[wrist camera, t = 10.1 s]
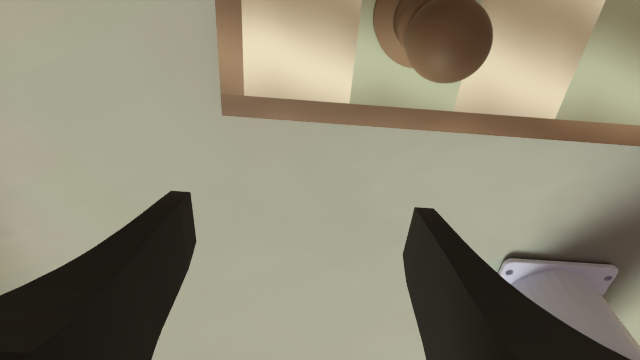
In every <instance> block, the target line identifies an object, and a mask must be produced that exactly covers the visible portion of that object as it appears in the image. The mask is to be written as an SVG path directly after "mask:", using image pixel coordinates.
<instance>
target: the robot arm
mask: <svg viewBox="0 0 640 360" xmlns="http://www.w3.org/2000/svg"><path fill="white" fill-rule="evenodd" d="M195 244H196V235H195V227H194V218H193V210H192V202H191V194H190V192H180V191H170V192H169V193H168V194H166V195H165V196H164V197H162V198H161V199H160V200H158V201H157V202H156V203H155V204H153V205H152V206H151V207H150V208H148V209H147V210H146V211H144V212H143V213H142V214H140V215H139V216H138V217H137V218H135V219H134V220H133V221H131V222H130V223H129V224H127V225H126V226H125V227H123V228H122V229H120V230H119V231H117V232H116V233H114V234H113V235H112V236H110V237H109V238H107V239H106V240H104V241H103V242H101V243H100V244H98V245H97V246H95V247H94V248H92V249H91V250H89V251H87V252H86V253H84V254H82V255H81V256H79V257H77V258H76V259H74V260H72V261H70V262H69V263H67V264H65V265H63V266H61V267H59V268H58V269H56V270H54V271H52V272H50V273H48V274H46V275H43V276H41V277H39V278H37V279H35V280H33V281H31V282H29V283H27V284H25V285H23V286H21V287H19V288H16V289H14V290H12V291H10V292H7V293H5V294H3V295H0V360H151V359H152V356H153V353H154V350H155V347H156V344H157V341H158V338H159V336H160V333H161V331H162V328H163V326H164V324H165V321H166V319H167V317H168V315H169V312H170V310H171V308H172V306H173V303H174V301H175V299H176V297H177V294H178V292H179V290H180V287H181V285H182V283H183V280H184V278H185V276H186V273H187V271H188V269H189V265H190V262H191V259H192V255H193V252H194V248H195ZM403 260H404V269H405V276H406V283H407V287H408V290H409V294H410V298H411V302H412V306H413V309H414V313H415V317H416V320H417V324H418V328H419V332H420V335H421V339H422V343H423V347H424V351H425V356H426V360H640V346H639V345H638V343H637V342H636V341H635V339H634V338H633V337H632V335H631V334H630V333H629V331H628V330H627V329H626V327H625V326H624V325H623V323H622V322H621V321H620V319H619V318H618V317H617V315H616V314H615V313H614V311H613V310H612V309H611V307H610V306H609V305H608V303H607V302H606V301H605V299H604V298H603V295H604V294H605V292H606V291H607V289H608V288H609V286H610V285H611V283H612V282H613V280H614V279H615V277H616V276H617V274H618V272H619V271H618V269H617V268H616V266H614V265H609V264H593V263H578V262H562V261H546V260H531V259H515V258H510V259H507V260H505V261H504V262H503V264H502V266H501V269H500V271H499V273H497V272H496V271H495V270H493V269H492V268H491V267H490V266H489V265H488V264H487V263H486V262H485V261H484V260H482V259H481V258H480V257H479V256H478V255H477V254H476V253H475V252H474V251H473V250H472V249H471V248H470V247H469V246H468V245H467V244H466V243H465V242H464V241H463V240H462V239H461V237H460V236H459V235H458V234H457V233H456V232H455V231H454V230H453V229H452V228H451V227H450V226H449V225H448V223H447V222H446V221H445V220H444V219H443V218H442V217H441V216H440V215H439V214H438V213H437V212H436V211H435V210H434V209H432V208H417V207H415V208H414V212H413V216H412V220H411V224H410V228H409V232H408V236H407V240H406V244H405V248H404V252H403ZM508 270H509V271H508Z"/></svg>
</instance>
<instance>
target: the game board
mask: <svg viewBox="0 0 640 360" xmlns="http://www.w3.org/2000/svg"><path fill="white" fill-rule="evenodd" d="M475 1H476V2H477V3H479V4H480V5H481V6H482V7H483V8H484V9H485V11H486V12H487V14H488V16H489V18H490V20H491V23H492V28H493V42H492V47H491V50H490V53H489V55H488V57H487V59H486V60H485V62H484V63H483V64H482V66H481V67H480V68H479V69H478V70H477V71H476V72H474V73H473V74H472V75H470V76H469V77H467V78H465V79H463V80H461V81H458V82H454V83H435V82H432V81H429V80H427V79H425V78H423V77H422V76H420V75H419V74H418V73H417V72H416V71H415V70H414V69H413V68H408V67H405V66H402V65H400V64H397V63H396V62H394V61H393V60H392V59H390V58H389V57H388V56H387V55H386V54H385V52H384V51H383V49H382V48H381V46H380V44H379V42H378V40H377V37H376V35H375V32H374V27H373V10H374V5H375V2H376V0H215V6H216V23H217V39H218V55H219V71H220V87H221V104H222V115H224V116H237V117H251V118H264V119H278V120H292V121H305V122H319V123H332V124H346V125H359V126H373V127H387V128H400V129H414V130H427V131H441V132H455V133H468V134H482V135H495V136H509V137H522V138H536V139H550V140H563V141H577V142H590V143H604V144H617V145H631V146H640V0H475Z"/></svg>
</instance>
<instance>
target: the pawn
mask: <svg viewBox="0 0 640 360" xmlns="http://www.w3.org/2000/svg"><path fill="white" fill-rule="evenodd" d="M373 27H374V32H375V35H376V37H377V40H378V42H379V44H380V46H381V48H382V49H383V51H384V52H385V54H386V55H387V56H388V57H389V58H390V59H392V60H393V61H394V62H396V63H397V64H400V65H402V66H405V67H408V68H413V69H414V70H415V71H416V72H417V73H418V74H419V75H420V76H422V77H423V78H425V79H427V80H429V81H432V82H435V83H454V82H458V81H461V80H463V79H465V78H467V77H469V76H470V75H472V74H473V73H474V72H476V71H477V70H478V69H479V68H480V67H481V66H482V64H483V63H484V62H485V60H486V59H487V57H488V55H489V53H490V50H491V47H492V42H493V28H492V23H491V20H490V18H489V16H488V14H487V12H486V11H485V9H484V8H483V7H482V6H481V5H480V4H479V3H477V2H476V1H475V0H376V2H375V5H374V10H373Z"/></svg>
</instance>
